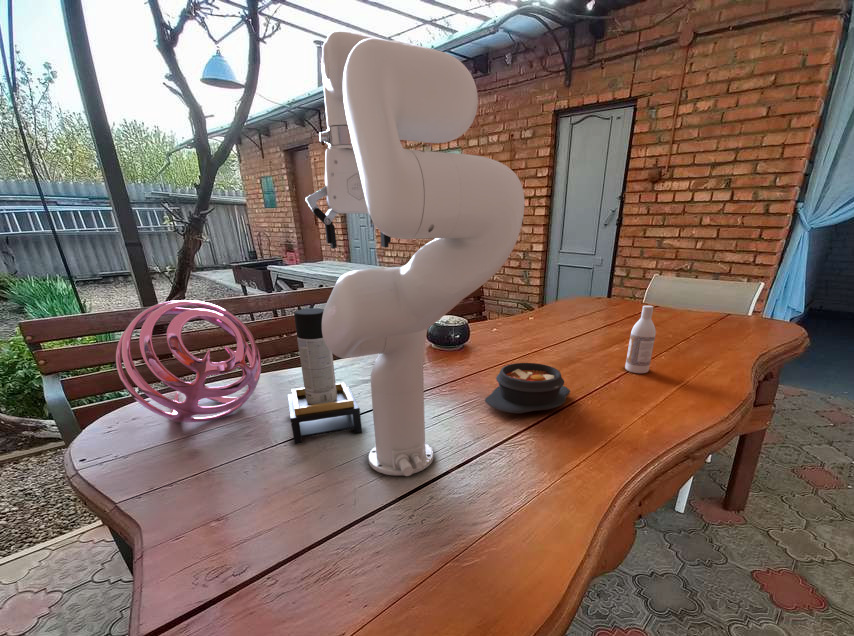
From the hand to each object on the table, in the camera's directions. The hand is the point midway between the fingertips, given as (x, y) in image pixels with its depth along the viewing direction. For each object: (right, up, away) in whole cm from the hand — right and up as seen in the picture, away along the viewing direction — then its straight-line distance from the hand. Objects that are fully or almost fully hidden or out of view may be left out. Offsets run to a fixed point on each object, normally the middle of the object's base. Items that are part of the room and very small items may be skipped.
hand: (359, 247), depth 80 cm
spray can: (-12, -29, +14) cm, 35 cm away
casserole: (+37, -29, +30) cm, 56 cm away
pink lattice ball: (-41, -32, +21) cm, 56 cm away
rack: (-12, -34, +17) cm, 40 cm away
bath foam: (+75, -19, +53) cm, 94 cm away
